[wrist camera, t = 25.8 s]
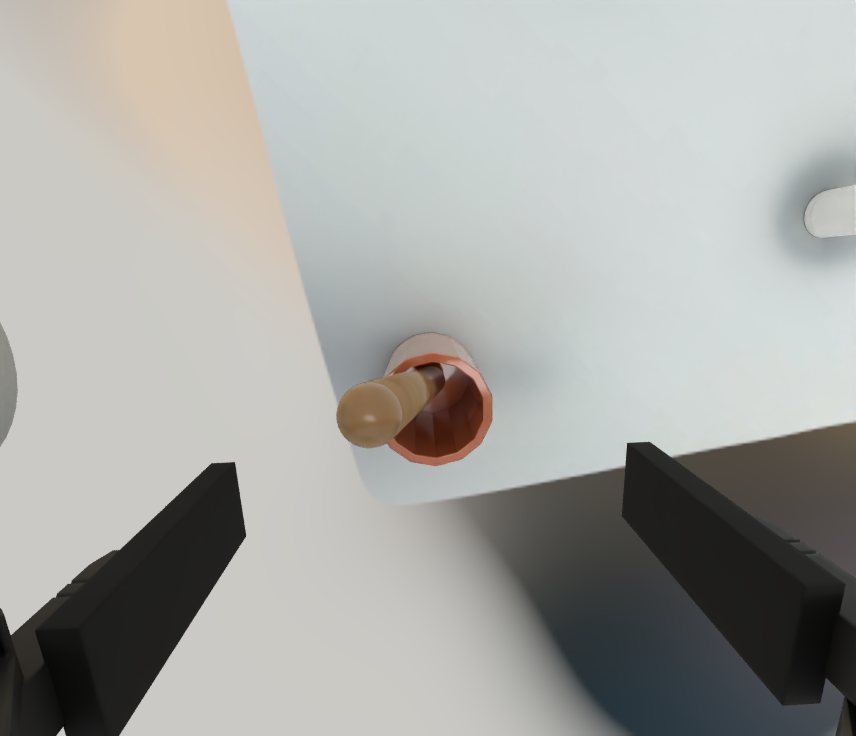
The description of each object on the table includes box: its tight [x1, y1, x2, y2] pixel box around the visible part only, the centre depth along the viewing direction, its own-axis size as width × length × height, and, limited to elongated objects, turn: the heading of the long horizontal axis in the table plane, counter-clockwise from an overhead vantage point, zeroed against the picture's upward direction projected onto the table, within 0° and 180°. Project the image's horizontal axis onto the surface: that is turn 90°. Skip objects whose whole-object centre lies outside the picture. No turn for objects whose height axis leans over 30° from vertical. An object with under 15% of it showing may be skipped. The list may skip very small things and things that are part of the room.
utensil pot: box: [384, 333, 492, 466], centre depth 26 cm, size 6×6×8 cm
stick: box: [337, 366, 445, 448], centre depth 21 cm, size 2×2×18 cm
